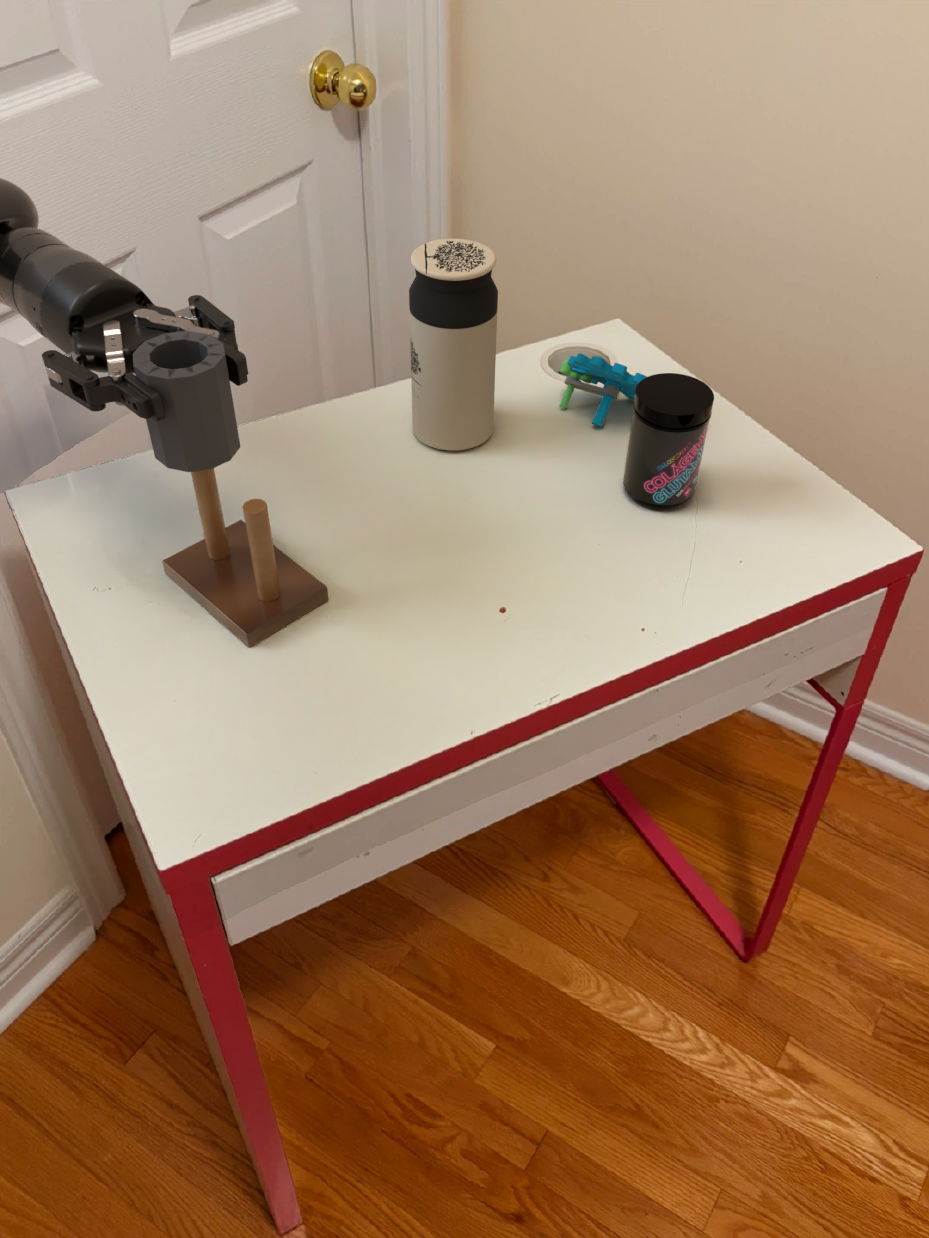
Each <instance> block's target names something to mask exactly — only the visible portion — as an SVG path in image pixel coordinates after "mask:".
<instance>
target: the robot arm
mask: <svg viewBox="0 0 929 1238" xmlns="http://www.w3.org/2000/svg"><path fill="white" fill-rule="evenodd" d="M39 222H40V216H39V211H38V208H37V206H36V204H35V202H34V200H33V198H32V197H31V196H30V195H29V194H28V193H27V192H26V191H25V190H24V189H22V188H21V187H20V186H18V185H17V184H16V183H13V182H11V181H9V180H7V179H5V178H2V177H0V304H2V305H4V306H6V307H8V308H10V309H11V310H13V311H14V312H15V313H17V314H18V315H20V317H22V318H24V319H25V320H26V321H27V322H28V323H29V324H30V326H31V327H32V328H34V330H35V331H36V332H37V333H39V334H40V335H41V336H42V337H43V338H45V339H46V340H47V341H49V342H50V343H52V345H54V346H55V347H57V348H58V349H59V350H61V351H62V352H63V353H65V354H63V353H62V352H60V351H58V350H54V349H49V350H45V351H44V352H42V354H41V358H42V361H43V364H44V368H45V372H46V375H47V378H48V381H49V385H50V386H51V387H52V388H53V389H55V390H57V392H60V393H61V394H63V395H65V396H66V397H68V398H69V399H71V400H73V401H75V402H76V403H78V404H79V405H81V406H83V407H84V408H86V409H87V410H88V411H91V412H94V413H95V412H101V411H103V410H105V409H106V408H107V404H110V403H115V405H117V406H119V407H120V406H121V407H126V408H127V409H128V410H130V411H131V412H132V413H134V414H135V415H136V416H137V417H139V418H141V419H145V420H146V419H148V418H150V419H151V420H153V421H154V422H158V421H160V420H163V419H165V412H164V407H163V403H162V399H161V396H160V395H159V393H158V392H157V391H156V390H154V389H153V388H152V387H150V386H148V385H147V384H146V383H144V382H143V381H141V380H140V379H139V378H137V377H136V375H135V371H134V367H133V353H134V352H135V351H136V350H137V349H138V348H139V347H140V346H141V345H142V344H143V343H144V341H147V340H149V339H152V338H154V337H157V336H159V335H162V334H164V333H173V332H182V331H192V332H198V333H204V334H210V335H211V336H213V337H214V338H216V339H218V340H219V341H221V342H222V343H223V344H224V350H225V356H226V362H227V368H228V374H229V380H230V383H233V384H234V385H236V386H237V387H239V386H242V385H244V384H246V383H248V379H249V378H248V375H249V368H248V363H247V357H246V355H245V353H243V352H242V351H240V350H239V346H238V343H237V336H236V326H235V321H234V320H233V319H232V318H231V317H229V315H227V314H226V313H224V312H223V311H222V310H221V309H219V308H218V307H217V306H216V305H214V304H213V303H212V302H210V301H209V300H208V299H207V298H205V297H204V296H203V295H200V294H194V295H190V296H189V297H188V298H187V301H188V307H184V308H182V309H179V310H175V311H173V310H172V309H170V308H167V307H163V306H158V305H155V303H154V302H153V301H152V300H151V299H150V298H149V296H147V294H146V293H145V292H144V291H143V290H142V289H141V287H139V286H137V285H136V284H135V283H133V282H131V281H130V280H128V279H127V278H125V277H124V276H123V275H122V274H119V273H118V272H116V271H115V270H113V269H111V268H110V267H108V266H107V265H106V264H104V263H102V262H101V261H99V260H97V259H96V258H95V257H93V256H91V255H89V254H87V253H85V252H82V251H80V250H77V249H75V248H74V247H72V246H71V245H69V244H67V243H66V242H64V241H63V240H61V239H59V238H58V237H56V236H55V235H53V234H52V233H50V232H48V231H46V230H44V229H41V228H39V224H40V223H39ZM95 372H96V373H95ZM97 373H103V374H106V373H107V374H108V375H106V376H101V377H100V376H99V375H98V374H97Z"/></svg>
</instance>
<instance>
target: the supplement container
mask: <svg viewBox="0 0 929 1238" xmlns="http://www.w3.org/2000/svg"><path fill="white" fill-rule="evenodd" d="M714 401H715V394H714V392H713V389H711V387H710V386H709V385H708V384H707V383H705V382H704V381H702V380H700V379H699V378H696V377H694V376H691V375H687V374H682V373H674V372H663V373H656V374H651V375H649V376H647V377H646V378H644V379H643V380H641V381H640V382H639V383H638V385H637V387H636V390H635V398H634V400H633V403H632V414H631V422H630V429H629V435H628V443H627V450H626V457H625V463H624V471H623V478H622V485H623V486H622V487H623V489H624V491H625V494H626V495H627V496H628V498H630V499H631V500H632V501H633V502H634V503H635V504H637V505H639V506H641V507H644V508H647V509H650V510H655V511H669V510H675V509H678V508H681V507H682V506H684V505H686V504H687V503H689V502H690V500H691V499H692V498H693V496H694V495H695V493H696V489H697V484H698V478H699V474H700V470H701V469H700V468H701V463H702V459H703V454H704V449H705V443H706V439H707V434H708V430H709V423H710V419H711V417H712V413H713V412H712V411H713V406H714Z"/></svg>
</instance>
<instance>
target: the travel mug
mask: <svg viewBox="0 0 929 1238" xmlns="http://www.w3.org/2000/svg"><path fill="white" fill-rule="evenodd" d="M410 256H411V257H410V263H411V265H412V267H413V268H414V273H415V277H414V279H413V281H412V283H411V284H410V286H409V289H408V305H409V345H410V377H411V379H410V382H411V417H412V418H411V419H412V420H411V421H412V432H413V434H414V436H415V438H417V440H419V441H420V442H421V443H423V444H424V445H426V446H427V447H428V446H429V447H431V448H434V449H437V450H443V451H464V450H470V449H472V448H475V447H479V446H480V445H482V444H483V443H486V441H488V440H489V438H491V436H492V434H493V432H494V415H495V388H496V387H495V386H496V363H497V362H496V361H497V359H496V358H497V334H498V333H497V331H498V305H499V304H498V303H499V290H498V287H497V285H496V283H495V281H494V279H493V277H492V273H493V269H494V268H495V267H496V264H497V256H496V253H495V252H494V251H493V249H491V248H490V247H489V246H488V245H485V244H483V243H482V242H478V241H475V240H471V239H465V238H464V239H463V238H440V239H435V240H431V241H428V242H425V243H423V244H421V245H419V246H418V247H416V248H415V249H414V250H413V252H412V253H411V255H410Z"/></svg>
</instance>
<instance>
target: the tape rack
mask: <svg viewBox="0 0 929 1238" xmlns="http://www.w3.org/2000/svg"><path fill="white" fill-rule="evenodd" d="M190 476H191V480H192V484H193V489H194V494H195V499H196V504H197V509H198V512H199V518H200V523H201V527H202V533H203V537H204V538H203V539H201V540H199V541H196V542H195V543H193V544H192V545H189V546H187V547H185V548H184V549H181V550H180V551H178V552H175V553H174V554H172V555H170V556H168V557H167V558H165V559H163V560H162V561H161V562H162V566H163V571H164V575H166V576H167V577H168V578H170V579H171V580H172V581H173V582H174V583H175V584H176V585H177V586H179V588H181V589H182V590H183V591H184V592H185V593H186V594H187V595H189V596H190V597H191V598H192V599H193V600H194V601H195V602H197V603H198V604H199V605H200V606H201V607H202V608H204V609H205V610H206V611H207V612H208V613H209V614H210V615H212V617H214V618H215V619H216V620H217V621H218V622H220V623H221V624H222V625H223V626H224V627H225V628H226V629H227V630H229V632H230V633H232V634H233V635H234V636H235V637H237V638H238V639H239V640H240V641H241V642H242V643H243V644H244V645H246V646H247V647H248V648H251V647H253V646H255V645H256V644H258V643H259V642H262V640H265V639H266V638H268V637H269V636H271V635H273V634H274V633H276V632H278V631H279V630H281V629H283V628H284V627H286V626H288V625H289V624H291V623H292V622H293V623H294V621H296V620H298V619H299V618H301V617H303V616H305V615H306V614H308V613H309V612H311V611H313V610H315V609H316V608H318V607H320V606H321V605H323V604H325V603H326V602H328V601H329V589H328V586H327V585H326V584H324V583H323V582H322V581H321V580H319V579H318V578H316V577H315V576H314V575H313V574H312V573H310V572H309V571H307V570H306V569H305V568H304V567H302V566H301V565H300V564H298V563H297V562H296V561H294V559H292V558H291V557H290V556H288V555H287V554H286V553H284V552H283V551H282V550H281V549H279V548H278V547H277V546H275V545H274V541H273V535H272V527H271V522H270V515H269V508H268V503H267V502H266V500H264V499H262V498H252V499H249V500H247V501H245V502H243V505H242V512H243V517H244V520H242V519H240V520H237V521H235V522H234V523H232V524H230V525H228V526H226V524H225V519H224V513H223V508H222V502H221V497H220V492H219V487H218V486H219V485H218V483H217V482H218V481H217V476H216V470H215V468H213V469H209V470H202V471H194V472H190Z"/></svg>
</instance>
